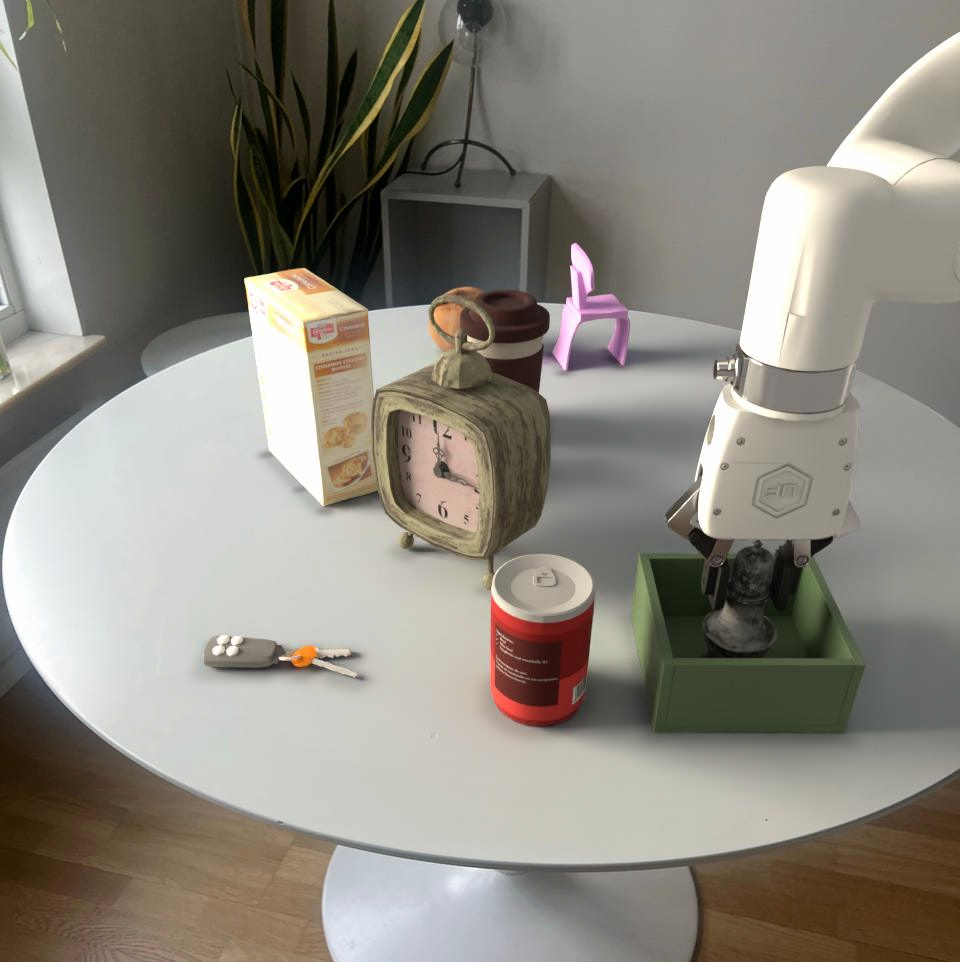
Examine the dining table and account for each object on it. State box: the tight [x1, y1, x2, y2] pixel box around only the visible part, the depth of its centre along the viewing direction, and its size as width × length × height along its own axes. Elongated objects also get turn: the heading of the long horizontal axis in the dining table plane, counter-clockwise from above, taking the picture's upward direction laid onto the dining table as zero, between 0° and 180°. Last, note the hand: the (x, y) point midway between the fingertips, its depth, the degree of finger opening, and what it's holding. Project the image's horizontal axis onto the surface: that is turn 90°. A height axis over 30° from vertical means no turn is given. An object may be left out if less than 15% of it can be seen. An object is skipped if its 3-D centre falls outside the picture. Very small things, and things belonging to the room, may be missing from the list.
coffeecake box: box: [244, 267, 378, 507], centre depth 100 cm, size 15×7×20 cm, turn 32°
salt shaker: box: [700, 540, 777, 658], centre depth 75 cm, size 6×6×12 cm
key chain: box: [202, 634, 359, 678], centre depth 80 cm, size 13×4×2 cm, turn 86°
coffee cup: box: [460, 289, 551, 394], centre depth 110 cm, size 10×10×15 cm
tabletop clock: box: [371, 293, 552, 591], centre depth 85 cm, size 14×9×25 cm, turn 50°
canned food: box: [489, 553, 596, 727], centre depth 74 cm, size 8×8×11 cm
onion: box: [428, 286, 485, 353], centre depth 129 cm, size 10×9×10 cm
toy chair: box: [552, 242, 631, 371], centre depth 126 cm, size 8×9×15 cm
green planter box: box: [630, 552, 866, 734], centre depth 77 cm, size 15×15×7 cm
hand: (745, 598), depth 75 cm, fingers open, 4 cm apart
